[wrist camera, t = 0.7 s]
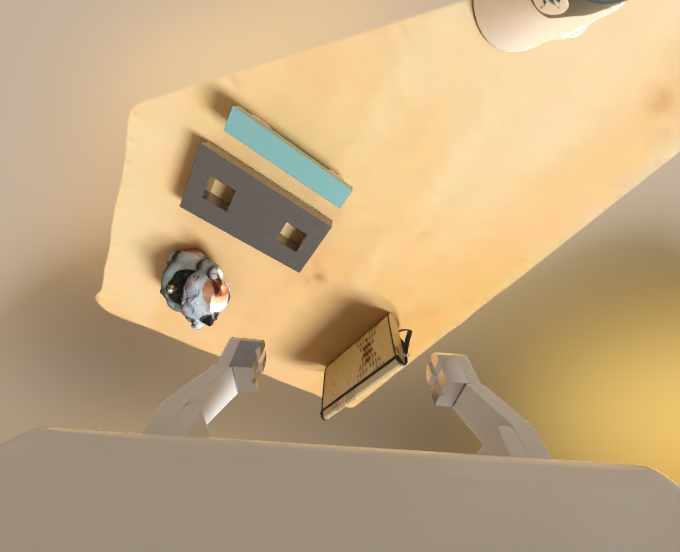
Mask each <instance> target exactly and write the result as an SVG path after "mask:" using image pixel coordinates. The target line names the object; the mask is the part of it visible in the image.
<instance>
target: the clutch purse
mask: <svg viewBox="0 0 680 552" xmlns="http://www.w3.org/2000/svg"><path fill="white" fill-rule="evenodd" d="M405 330H408V329H401V330H398V325H397V322H396V319H395V317H394V316H393V314H391V313H388V315H387V316H386V317H385V318H384V319H383V320H381V321H380V322H379V323H378V324H377V325H376V326H374V327H373V328H372V329H371V330H370V331H368V332H367V333H366V334H365V335H364V336H363V337H361V338H360V339H359V340H358V341H357V342H356V343H354V344H353V345H352V346H351V347H350V348H349V349H347V350H346V351H345V352H344V353H343V354H342V355H340V356H339V357H338V358H337V359H336V360H335V361H333V362H332V363H331V364H330V365H329V366H327V367H326V369H325V373H324V384H323V395H322V410H321V413H320V414H321V417H322V419H323V420H327V419H328V418H330V417H331V416H332V415H334V414H335V413H337V412H338V411H340V410H341V409H342V408H344V407H345V406H347V405H348V404H350V403H351V402H353V401H354V400H355V399H357V398H358V397H360V396H361V395H363V394H364V393H366V392H367V391H368V390H370V389H371V388H373V387H374V386H376V385H377V384H378V383H380V382H381V381H383V380H384V379H386V378H387V377H388V376H390V375H391V374H393V373H394V372H396V371H397V370H399V369H400V368H401V367H403V366H405V365H406V364H407V357H409V356H410V354H409V353H408V347H409V342H410V338H411V334H412V331H411V330H408V332H407V335H406V338H405V342H404V341H403V340H402V339H401V338H400V334H399V332H401V331H405ZM407 353H408V354H409V356H407Z"/></svg>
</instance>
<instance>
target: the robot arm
mask: <svg viewBox="0 0 680 552" xmlns="http://www.w3.org/2000/svg"><path fill="white" fill-rule="evenodd" d="M473 1H474V11H475V16H476V20H477V23H478V26H479V28H480V30H481V32H482V34H483V35H484V37H485V38H486V39H487V41H488V42H489V43H491V44H492V45H493V46H494V47H496V48H498V49H500V50H503V51H507V52H521V51H526V50H529V49H532V48H535V47H537V46H539V45H541V44H543V43H545V42H548V41H551V40H570V39H573V38H575V37H577V36H579V35H580V34H582V33H583V32H584V31H585V30H586V28H587V27H588V26H589V24H590V23H591V22H593V21H595V20H597V19H599V18H601V17H603V16H605V15H607V14H609V13H611V12H613V11H615V10H617V9H618V8H620V7H621V6H622V5H623V4H624V2H626V1H628V0H473ZM264 347H265V342H264V340H257V339H247V338H236V337H232V338H231V339H230V340H229V341H228V343H227V345H226V347H225V349H224V351H223V353H222V355H221V357H220V359H219V361H218V363H217V365H216V366H211V367H210V368H209V369H207V370H206V371H204V372H203V373H202V374H200V375H199V376H198V377H196V378H195V379H193V380H192V381H190V382H189V383H188V384H186V385H185V386H183V387H182V388H181V389H179V390H178V391H176V392H175V393H174V394H172V395H171V396H170V397H168V398H167V399H165V400H164V401H163V402H162V403H161V404H160V406H159V407H158V409H157V411H156V412H155V414H154V415H153V417H152V418H151V420H150V422H149V423H148V425H147V427H146V428H145V429H144V431H143V433H128V432H112V431H97V430H81V429H66V428H52V427H40V428H35V429H32V430H29V431H27V432H25V433H23V434H20V435H18V436H16V437H14V438H12V439H10V440H9V441H7V442H5V443H3V444H1V445H0V552H680V485H679V484H677V483H676V482H675V481H673V480H672V479H670V478H669V477H667V476H666V475H664V474H663V473H661V472H659V471H658V470H656V469H654V468H651V467H648V466H644V465H635V464H619V463H603V462H602V463H601V462H586V461H570V460H555V459H552V457H551V455H550V454H549V452H548V450H547V449H546V447H545V445H544V443H543V442H542V440H541V438H540V437H539V435H538V433H537V432H536V430H535V428H534V427H533V426H532V425H531V424H530V423H528V422H527V421H526V420H525V419H524V418H522V417H521V416H520V415H519V414H518V413H516V412H515V411H514V410H513V409H512V408H511V407H510V406H508V405H507V404H506V403H505V402H504V401H502V400H501V399H500V398H499V397H498V396H497V395H495V394H494V393H493V392H492V391H491V390H490V389H488V388H487V387H486V386H485V385H481V384H480V382H479V379H478V377H477V375H476V374H475V371H474V369H473V367H472V365H471V363H470V361H469V359H468V357H467V356H466V355H461V354H450V353H433V354H432V356H431V360H432V361H431V362H430V363H428V365H427V368H426V376H427V381H428V384H429V385H430V386H431V387H432V390H431V395H432V398H433V402H434V405H439V406H448V407H453V409H454V410H455V412H456V413H457V414H458V415H459V416H460V418H461V419H462V420H463V421H464V422H465V424H466V425H467V426H468V427H469V428H470V430H471V431H472V432H473V433H474V434H475V436H476V437H477V438H478V439H479V440H480V442H481V443H482V444H483V446H482V447H481V449H480V450H479V451H478V452H477V454H476V455H474V454H460V453H443V452H427V451H412V450H396V449H381V448H365V447H349V446H333V445H316V444H300V443H285V442H270V441H269V442H268V441H254V440H238V439H222V438H212V437H211V435H210V432H209V430H208V427H207V424H208V423H209V422H210V421H211V419H213V418H214V417H215V416H216V415H217V414H218V413H219V412H220V411H221V410H222V409H223V407H225V406H226V404H228V402H230V400H231V399H232V398H233V397H234V396H235V395H236V394H237V392H245V393H246V392H247V393H256V392H257V389H258V386H259V383H260V374H261V373H262V372H263V370H264V367H265V362H266V351H265V350H264Z"/></svg>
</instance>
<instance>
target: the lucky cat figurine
mask: <svg viewBox="0 0 680 552" xmlns="http://www.w3.org/2000/svg"><path fill="white" fill-rule="evenodd" d="M167 265H168V266H167V268H166V269H165V271H164V272H163V275H162V280H161V286H162V287H161V290H160V293H161V294H162V295H163V296H164V297H165V298H166V301H167V304H168V306H169V307H170V308H171V309H173V310H175V311H177V312H181V313H182V314H183V315H184V316H185V318H186V319H187V320H188V321H189V322H191V323H192V325H191V327H192V328H194V329H196V330H199V329H200V328H201V327H203V326H204V325H205V324H206V325H208V326H211V325H212V324H213V323H214V321H215V320H217V316H218V315H219V313H221V312H222V311H223V310H224V309H225V308H226V305H227V304H228V301H229V299H230V296H231V292H230V286H229V284H228V282H227V280H226V279H225V277H224V275H223V272H222V270H221V269H220V268H219V266H218V265H217V264H216V263H214V262H213V261H211V260H210V259H208V258H206V256H205V255H204V254H203V253H202V252H201V251H200V250H197V249H189V250H183V251H177V250H173V251H171V254H170V256H169V257H168V259H167Z"/></svg>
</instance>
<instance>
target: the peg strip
mask: <svg viewBox="0 0 680 552" xmlns="http://www.w3.org/2000/svg"><path fill="white" fill-rule="evenodd" d="M224 131H226V132H227V133H229V134H230V135H231V136H233V137H234V138H236V139H237V140H239V141H240V142H242V143H243V144H245V145H246V146H248V147H249V148H251V149H252V150H254V151H255V152H257V153H258V154H260V155H261V156H263V157H264V158H266V159H267V160H269V161H270V162H272V163H273V164H275V165H276V166H278V167H279V168H280V169H282V170H283V171H285V172H286V173H288V174H289V175H291V176H292V177H294V178H295V179H297V180H298V181H300V182H301V183H303V184H304V185H306V186H307V187H309V188H310V189H312V190H313V191H315V192H316V193H318V194H319V195H321V196H322V197H324V198H325V199H326V200H328V201H329V202H331V203H332V204H334V205H335V206H337V207H338V208H341V206H342V205H343V204H344V202H345V201H346V199H347V198H348V196H349V195H350V193H351V192H352V186H350V185H349V184H348V183H346V182H345V181H344V179H343V178H342V177H340V176H339V175H337V174H336V173H335V172H333V171H332V170H331V169H329V170H328V169H327V168H325V167H324V166H322V165H321V164H320V163H318V162H317V161H315V160H314V159H313V158H311V157H310V156H308V155H307V154H306V153H304V152H303V151H301V150H300V149H299V148H297V147H296V146H294V145H293V144H292V143H290V142H289V141H288V140H286V139H285V138H283V137H282V136H281V135H279V134H278V133H276V132H275V131H274V130H272V129H271V126H269V125H268V124H266V123H265V122H264V121H262V120H261V119H260V118H258V117H257V116H255V115H254V114H250V113H248V112H247V111H246V110H244V109H243V108H241V107H240V106H233V107H232V109H231V112H230V115H229V117H228V120H227V123H226V126H225V128H224Z"/></svg>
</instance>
